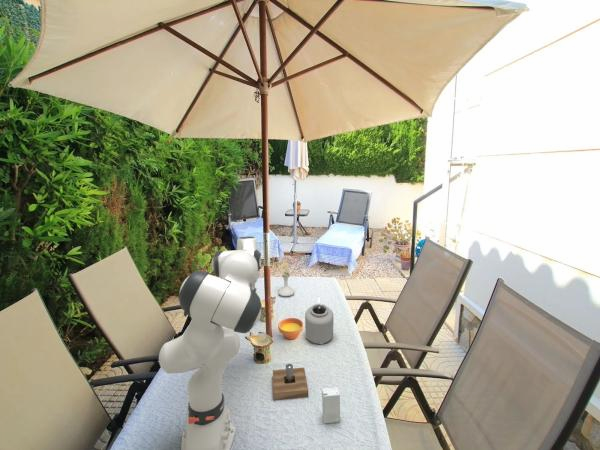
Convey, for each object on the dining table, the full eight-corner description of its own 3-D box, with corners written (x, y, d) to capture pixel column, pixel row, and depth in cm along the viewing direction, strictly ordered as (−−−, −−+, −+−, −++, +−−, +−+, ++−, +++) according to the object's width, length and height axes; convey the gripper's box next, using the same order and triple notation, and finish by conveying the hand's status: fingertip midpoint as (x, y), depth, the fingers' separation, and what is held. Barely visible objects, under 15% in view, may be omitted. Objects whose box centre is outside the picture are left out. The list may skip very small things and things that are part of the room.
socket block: (308, 397, 131) (308, 389, 130) (273, 400, 130) (273, 393, 129) (304, 374, 145) (304, 367, 144) (273, 377, 143) (272, 370, 143)
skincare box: (337, 413, 123) (338, 385, 120) (340, 423, 118) (340, 394, 116) (321, 415, 122) (321, 387, 119) (323, 424, 118) (323, 396, 115)
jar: (335, 350, 162) (335, 304, 156) (305, 350, 162) (304, 304, 156) (331, 330, 180) (331, 288, 175) (305, 330, 180) (304, 288, 175)
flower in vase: (276, 292, 230) (275, 259, 225) (291, 290, 234) (290, 257, 228) (281, 300, 218) (279, 264, 213) (297, 297, 222) (296, 262, 216)
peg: (293, 388, 136) (293, 368, 134) (286, 389, 136) (285, 368, 133) (293, 384, 139) (292, 363, 137) (286, 384, 139) (285, 364, 136)
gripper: (255, 283, 125) (257, 315, 128) (257, 265, 145) (258, 293, 148) (239, 284, 125) (241, 316, 128) (242, 266, 145) (244, 294, 148)
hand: (250, 304), depth 138 cm, fingers open, 8 cm apart
